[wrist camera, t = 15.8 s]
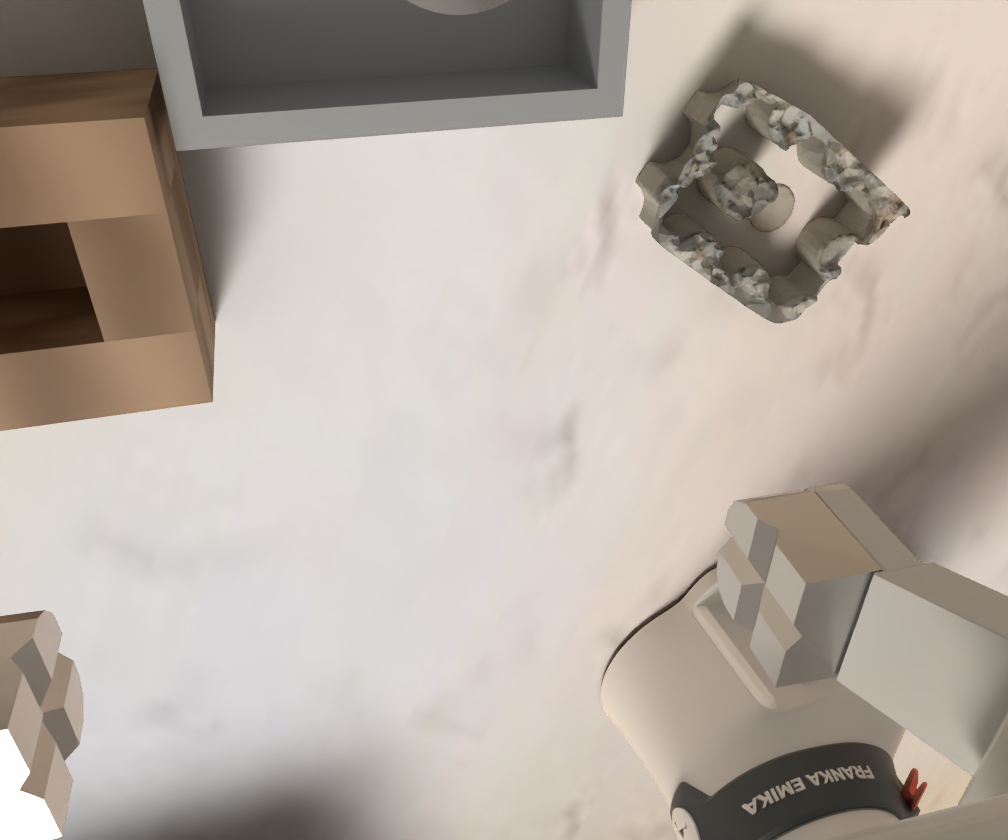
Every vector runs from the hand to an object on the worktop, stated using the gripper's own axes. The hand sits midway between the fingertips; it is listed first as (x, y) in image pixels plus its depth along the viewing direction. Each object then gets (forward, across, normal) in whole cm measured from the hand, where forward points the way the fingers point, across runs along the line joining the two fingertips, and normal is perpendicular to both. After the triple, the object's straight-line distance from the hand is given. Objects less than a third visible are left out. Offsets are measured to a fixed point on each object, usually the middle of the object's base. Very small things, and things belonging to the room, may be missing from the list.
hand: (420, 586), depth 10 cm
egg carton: (+27, +19, -6) cm, 33 cm away
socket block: (+26, -10, -4) cm, 28 cm away
